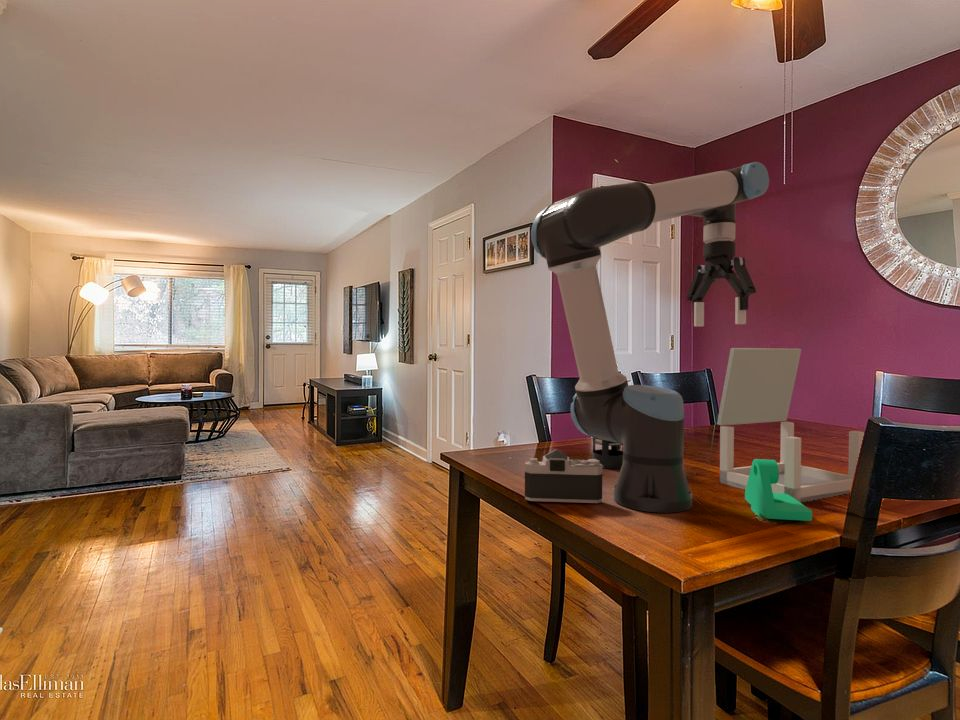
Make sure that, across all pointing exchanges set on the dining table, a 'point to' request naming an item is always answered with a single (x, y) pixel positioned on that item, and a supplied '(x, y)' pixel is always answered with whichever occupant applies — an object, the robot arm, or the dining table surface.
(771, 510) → the camera mount
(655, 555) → the dining table surface
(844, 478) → the frame
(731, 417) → the lid
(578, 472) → the camera
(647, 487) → the robot arm
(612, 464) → the french press
